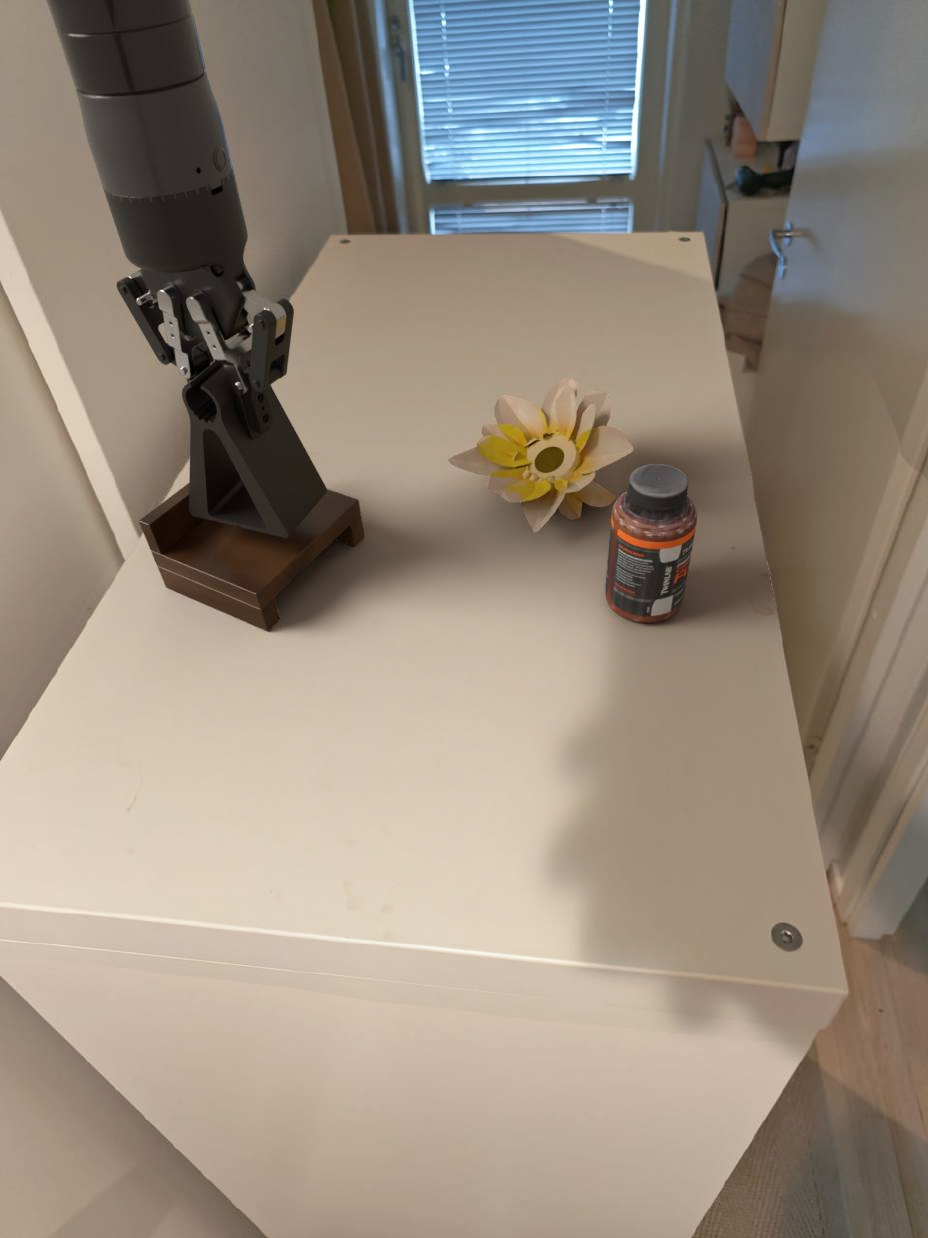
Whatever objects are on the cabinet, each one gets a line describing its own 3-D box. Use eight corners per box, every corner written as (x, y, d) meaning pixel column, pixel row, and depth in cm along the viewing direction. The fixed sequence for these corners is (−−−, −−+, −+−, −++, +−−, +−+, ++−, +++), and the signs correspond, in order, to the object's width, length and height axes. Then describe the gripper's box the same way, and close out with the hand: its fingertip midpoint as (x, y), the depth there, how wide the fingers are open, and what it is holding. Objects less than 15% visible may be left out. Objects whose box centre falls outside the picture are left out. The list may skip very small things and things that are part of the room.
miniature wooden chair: (268, 632, 65) (246, 563, 60) (165, 587, 70) (138, 520, 65) (365, 536, 73) (353, 468, 68) (267, 502, 77) (249, 436, 72)
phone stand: (190, 515, 66) (140, 374, 57) (233, 472, 70) (192, 334, 61) (288, 539, 63) (251, 394, 55) (328, 493, 67) (299, 352, 58)
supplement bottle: (683, 630, 63) (705, 508, 55) (602, 624, 64) (613, 503, 56) (681, 576, 67) (702, 456, 59) (605, 571, 68) (616, 452, 60)
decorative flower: (424, 458, 78) (443, 356, 71) (522, 442, 83) (548, 346, 77) (516, 554, 69) (546, 447, 63) (618, 529, 75) (656, 429, 68)
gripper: (34, 174, 50) (130, 428, 62) (212, 206, 44) (280, 478, 56) (129, 138, 54) (201, 381, 66) (301, 162, 49) (346, 423, 61)
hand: (237, 425), depth 61 cm, fingers closed on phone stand, 3 cm apart
